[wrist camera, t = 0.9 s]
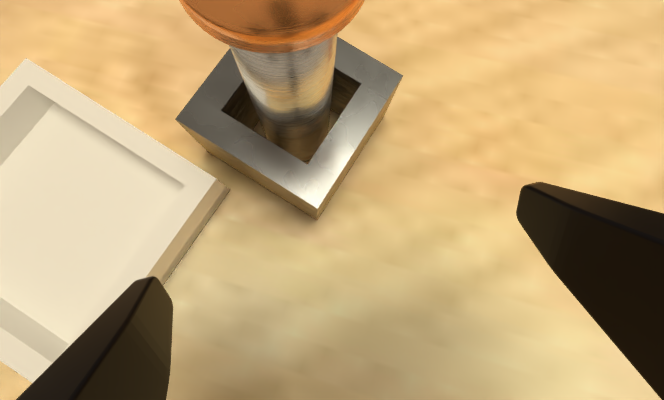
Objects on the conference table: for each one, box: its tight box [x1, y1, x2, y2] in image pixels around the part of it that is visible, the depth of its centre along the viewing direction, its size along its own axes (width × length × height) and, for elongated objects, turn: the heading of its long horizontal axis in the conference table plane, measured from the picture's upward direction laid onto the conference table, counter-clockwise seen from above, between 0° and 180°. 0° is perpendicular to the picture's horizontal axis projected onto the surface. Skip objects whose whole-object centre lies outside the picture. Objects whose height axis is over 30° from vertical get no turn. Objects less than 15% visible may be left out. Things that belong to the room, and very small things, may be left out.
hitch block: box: [175, 37, 403, 220], centre depth 20 cm, size 8×8×5 cm
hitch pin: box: [179, 0, 364, 162], centre depth 15 cm, size 6×6×14 cm
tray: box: [0, 58, 230, 383], centre depth 19 cm, size 13×13×3 cm
